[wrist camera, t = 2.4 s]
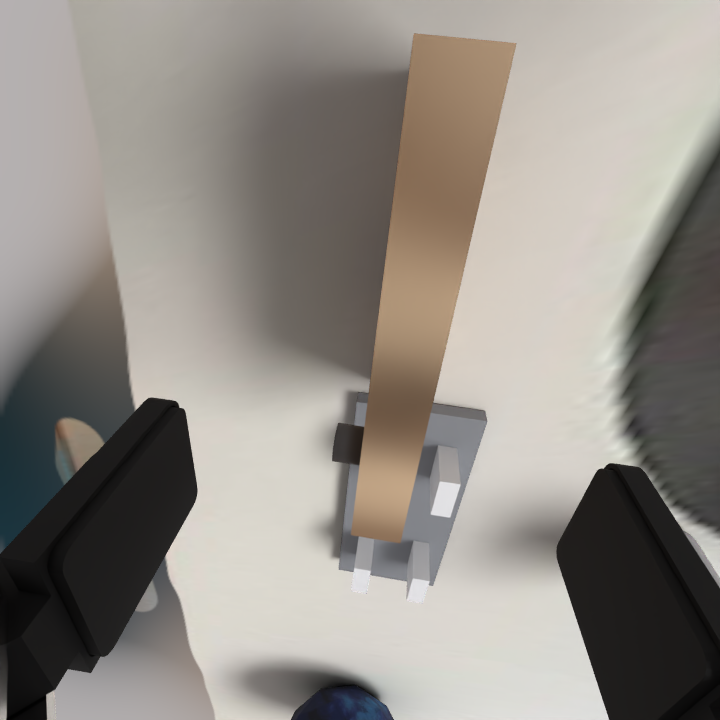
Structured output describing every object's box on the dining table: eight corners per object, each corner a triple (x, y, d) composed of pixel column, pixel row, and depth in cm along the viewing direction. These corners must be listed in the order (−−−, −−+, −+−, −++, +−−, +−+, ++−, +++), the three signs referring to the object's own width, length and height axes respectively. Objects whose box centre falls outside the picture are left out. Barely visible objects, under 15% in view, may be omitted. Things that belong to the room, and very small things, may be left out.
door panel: (389, 67, 18) (353, 27, 8) (466, 75, 17) (516, 43, 8) (357, 377, 26) (321, 530, 17) (408, 385, 26) (400, 543, 17)
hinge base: (358, 392, 27) (349, 434, 23) (485, 411, 26) (494, 457, 23) (340, 558, 36) (332, 605, 33) (432, 574, 36) (433, 623, 32)
